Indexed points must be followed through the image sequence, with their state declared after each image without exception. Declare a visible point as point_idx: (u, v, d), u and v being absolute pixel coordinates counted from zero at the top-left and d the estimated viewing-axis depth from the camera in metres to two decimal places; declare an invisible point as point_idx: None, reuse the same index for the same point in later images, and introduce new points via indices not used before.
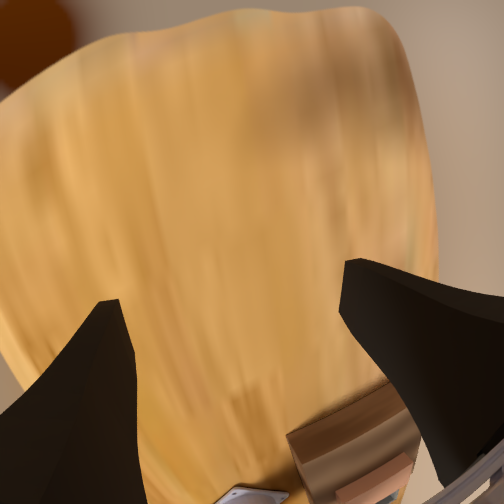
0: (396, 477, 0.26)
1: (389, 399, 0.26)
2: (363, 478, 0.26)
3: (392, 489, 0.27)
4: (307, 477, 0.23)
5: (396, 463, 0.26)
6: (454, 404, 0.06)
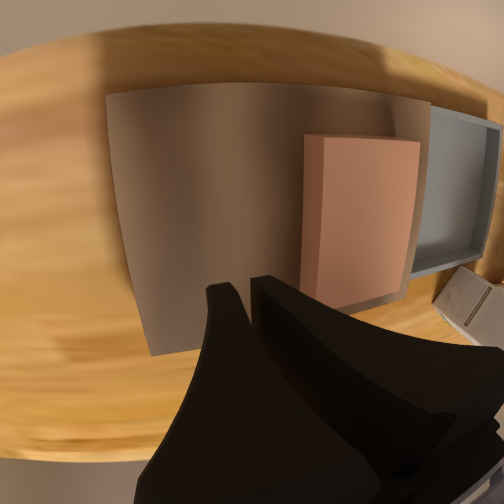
0: (351, 183, 0.14)
1: None
2: (303, 242, 0.17)
3: (400, 187, 0.15)
4: (197, 347, 0.18)
5: (311, 168, 0.14)
6: None
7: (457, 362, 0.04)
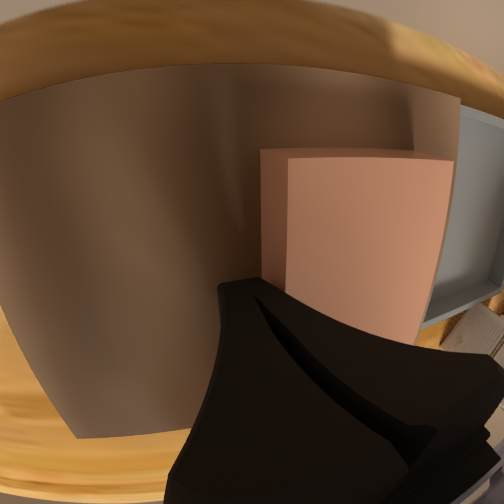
0: (338, 237, 0.08)
1: None
2: None
3: (419, 235, 0.09)
4: (129, 434, 0.12)
5: (270, 211, 0.09)
6: None
7: (444, 371, 0.04)
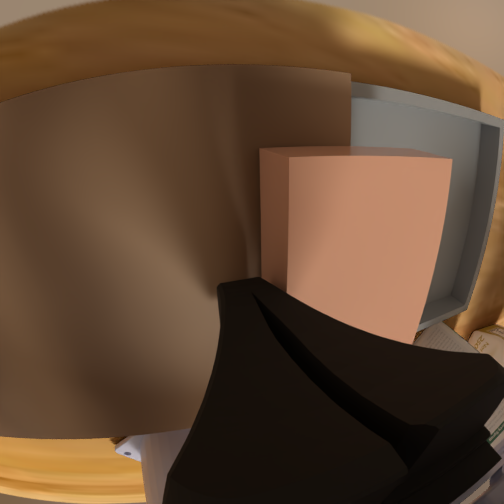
0: (339, 236, 0.08)
1: None
2: None
3: (419, 233, 0.09)
4: (25, 436, 0.10)
5: (270, 210, 0.09)
6: None
7: (444, 370, 0.04)
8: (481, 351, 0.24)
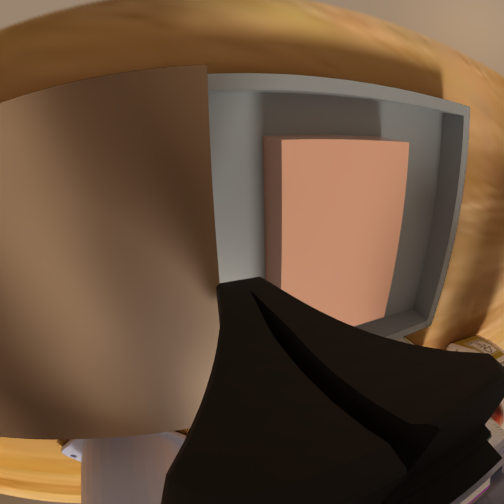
0: None
1: None
2: None
3: None
4: None
5: None
6: None
7: (445, 370, 0.04)
8: None
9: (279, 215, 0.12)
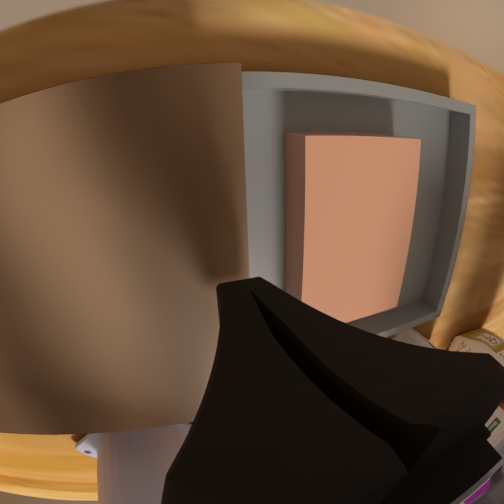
0: None
1: None
2: None
3: None
4: None
5: None
6: None
7: (445, 370, 0.04)
8: None
9: (302, 207, 0.12)
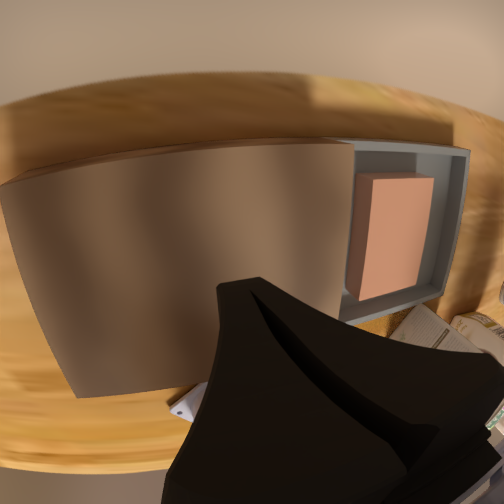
0: None
1: None
2: None
3: None
4: (113, 394, 0.18)
5: None
6: None
7: (445, 370, 0.04)
8: (460, 332, 0.31)
9: (367, 220, 0.20)
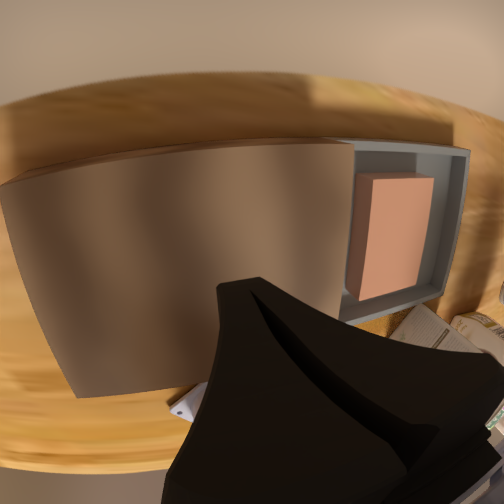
0: None
1: None
2: None
3: None
4: (113, 394, 0.18)
5: None
6: None
7: (445, 370, 0.04)
8: (460, 332, 0.31)
9: (367, 220, 0.20)
